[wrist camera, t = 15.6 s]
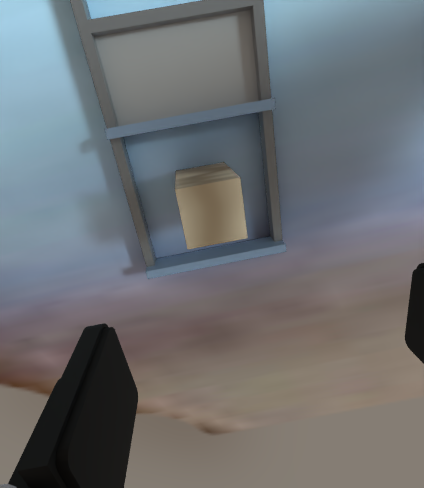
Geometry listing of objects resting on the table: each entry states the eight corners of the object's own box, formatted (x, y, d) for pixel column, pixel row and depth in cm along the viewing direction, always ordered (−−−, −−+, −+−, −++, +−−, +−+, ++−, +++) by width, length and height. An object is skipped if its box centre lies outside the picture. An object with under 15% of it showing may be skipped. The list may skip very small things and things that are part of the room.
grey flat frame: (235, -264, 18) (243, -319, 16) (278, 241, 31) (286, 251, 29) (9, -231, 18) (-16, -283, 15) (150, 267, 31) (147, 279, 29)
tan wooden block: (223, 162, 28) (240, 177, 20) (230, 208, 29) (247, 238, 22) (175, 170, 28) (174, 189, 20) (185, 216, 29) (187, 249, 22)
